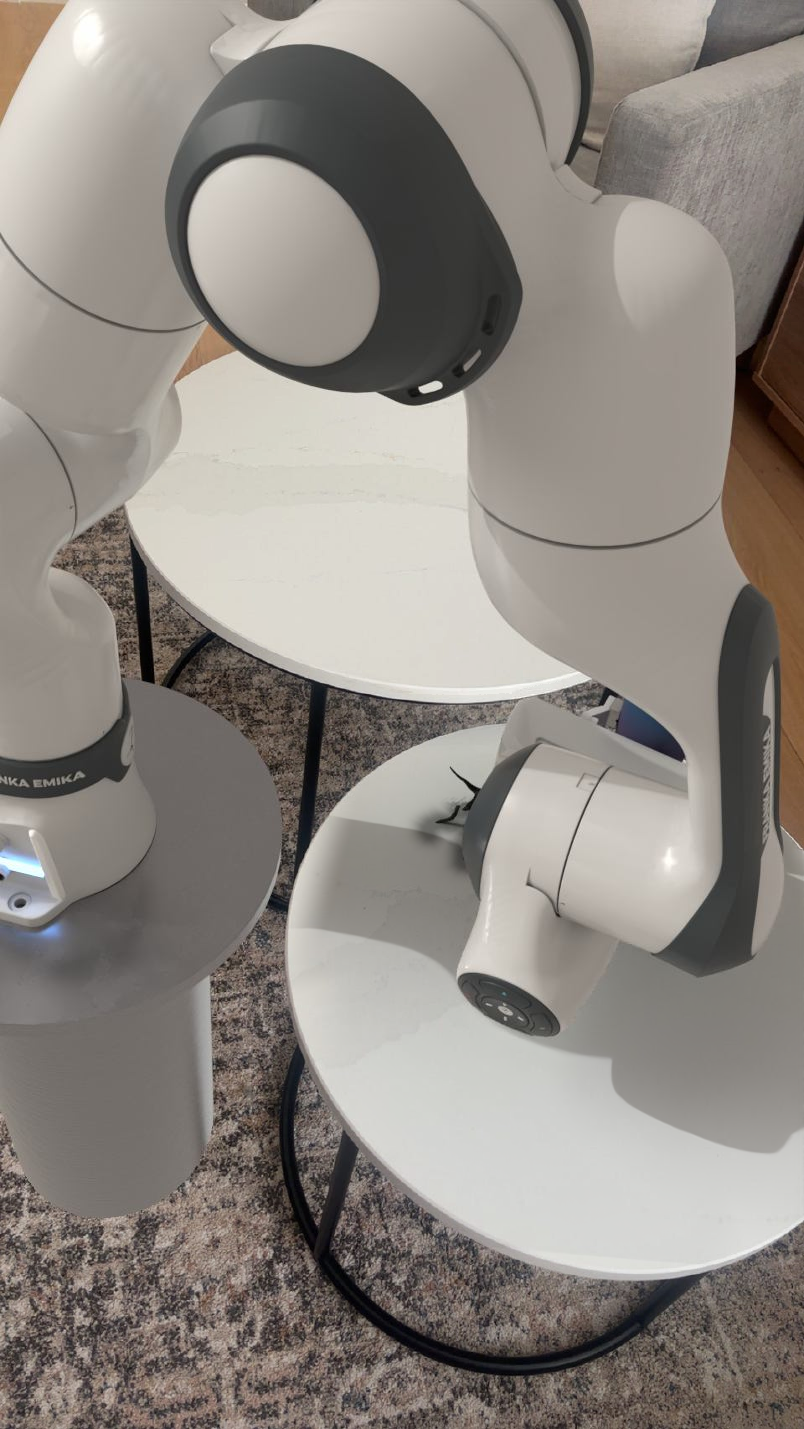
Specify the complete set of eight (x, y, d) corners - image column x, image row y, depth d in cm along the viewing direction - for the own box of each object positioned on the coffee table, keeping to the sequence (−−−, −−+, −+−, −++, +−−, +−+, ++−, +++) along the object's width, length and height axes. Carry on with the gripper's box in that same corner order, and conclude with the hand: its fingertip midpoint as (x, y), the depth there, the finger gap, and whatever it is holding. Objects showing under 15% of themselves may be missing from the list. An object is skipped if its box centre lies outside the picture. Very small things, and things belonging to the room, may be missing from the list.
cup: (653, 839, 88) (711, 710, 78) (577, 802, 90) (622, 671, 80) (680, 786, 93) (738, 657, 82) (607, 752, 95) (654, 622, 84)
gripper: (752, 878, 72) (800, 750, 81) (477, 750, 78) (551, 643, 87) (721, 930, 77) (771, 804, 86) (464, 806, 82) (535, 699, 91)
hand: (658, 722), depth 86 cm, fingers closed on cup, 6 cm apart
